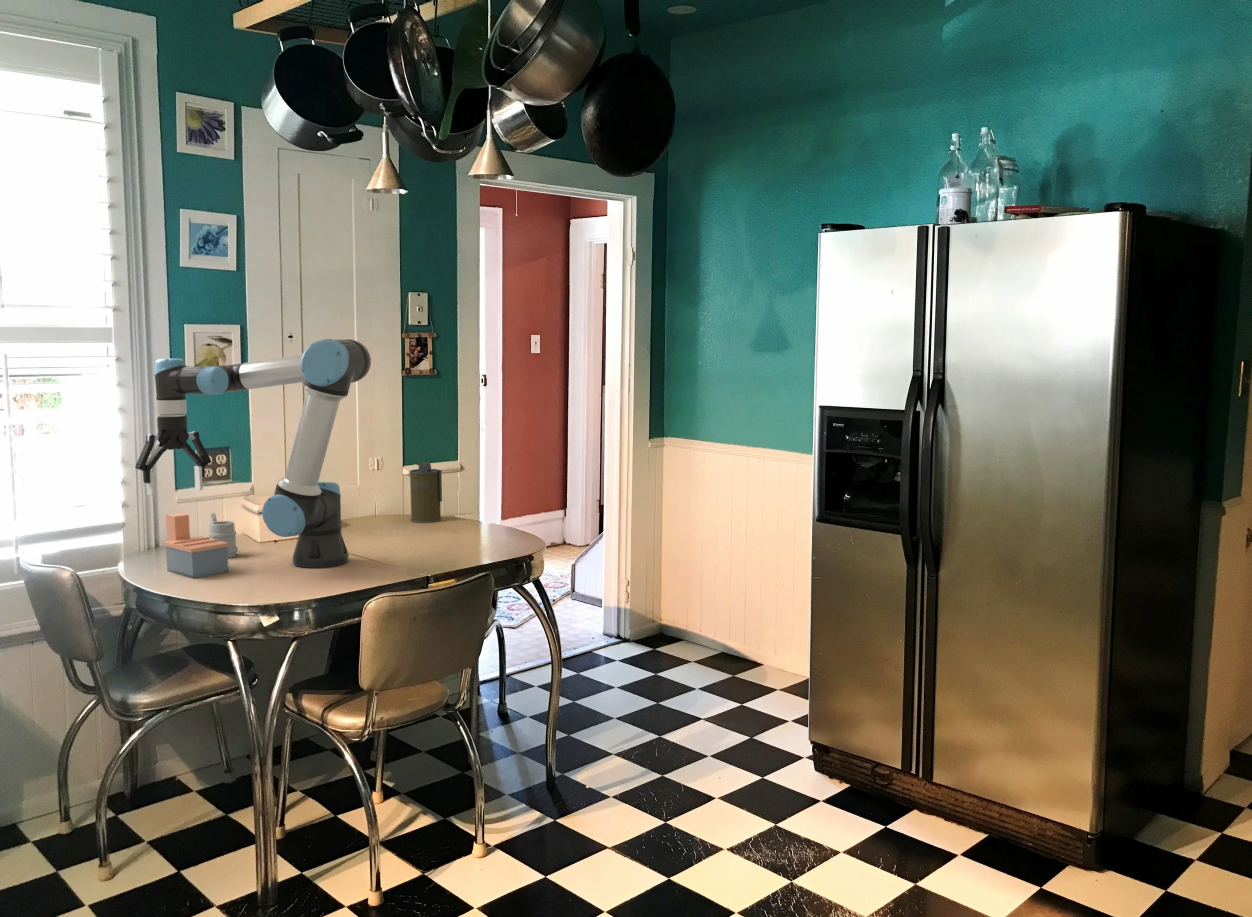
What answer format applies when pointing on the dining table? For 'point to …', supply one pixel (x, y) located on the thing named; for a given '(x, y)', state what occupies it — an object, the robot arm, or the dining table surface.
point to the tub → (197, 562)
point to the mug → (224, 534)
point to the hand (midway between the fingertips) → (175, 492)
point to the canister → (425, 494)
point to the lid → (187, 536)
